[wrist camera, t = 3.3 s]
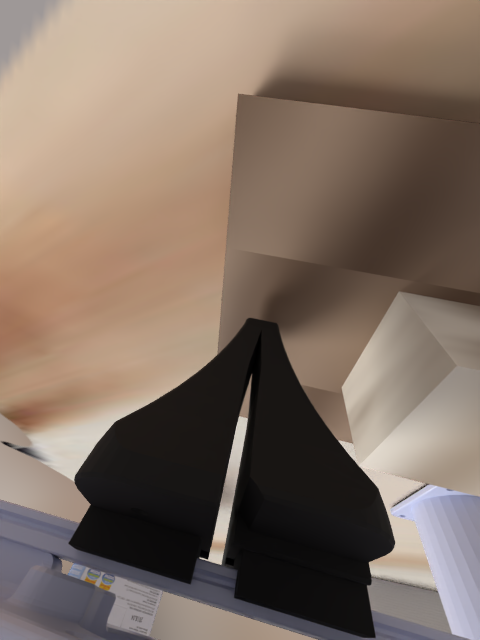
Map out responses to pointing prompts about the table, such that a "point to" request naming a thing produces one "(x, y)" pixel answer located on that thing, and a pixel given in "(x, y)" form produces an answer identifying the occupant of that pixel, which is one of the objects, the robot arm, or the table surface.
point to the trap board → (344, 230)
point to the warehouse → (408, 603)
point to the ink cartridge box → (124, 599)
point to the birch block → (420, 394)
